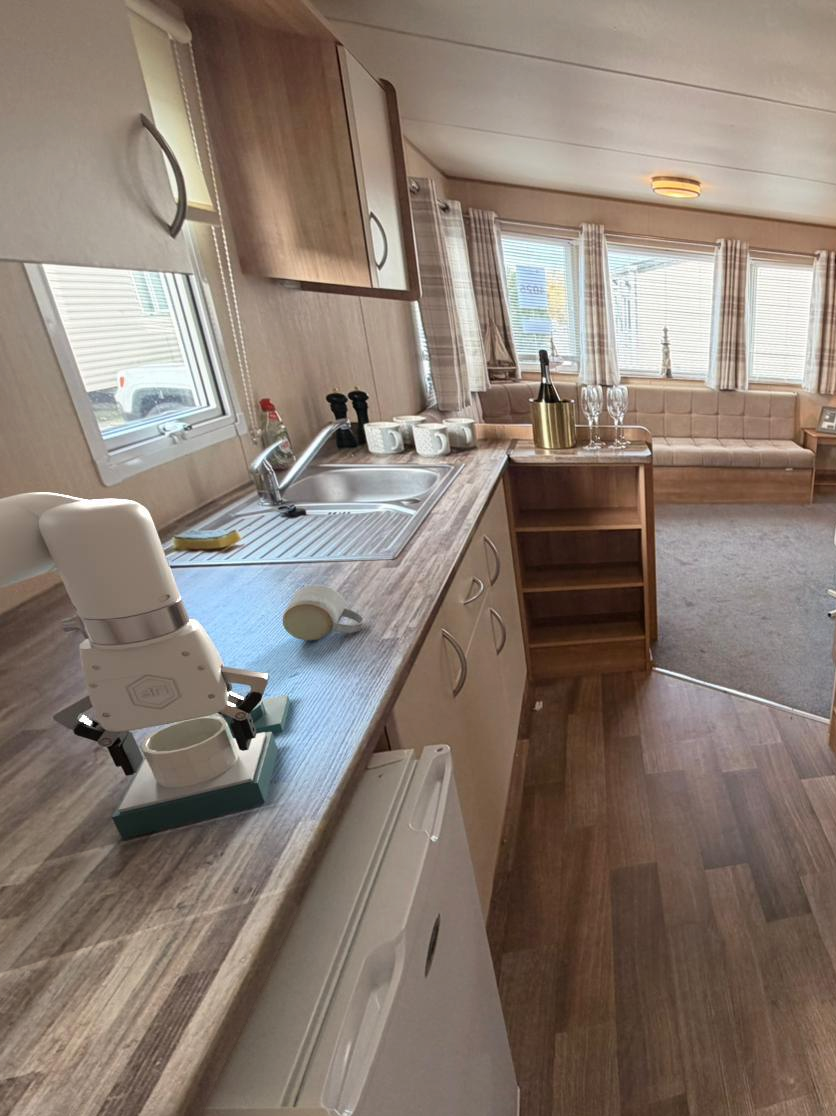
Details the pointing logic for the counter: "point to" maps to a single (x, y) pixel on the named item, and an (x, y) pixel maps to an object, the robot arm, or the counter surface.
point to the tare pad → (266, 715)
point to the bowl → (190, 751)
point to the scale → (197, 792)
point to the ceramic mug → (318, 613)
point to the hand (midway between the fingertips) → (192, 755)
